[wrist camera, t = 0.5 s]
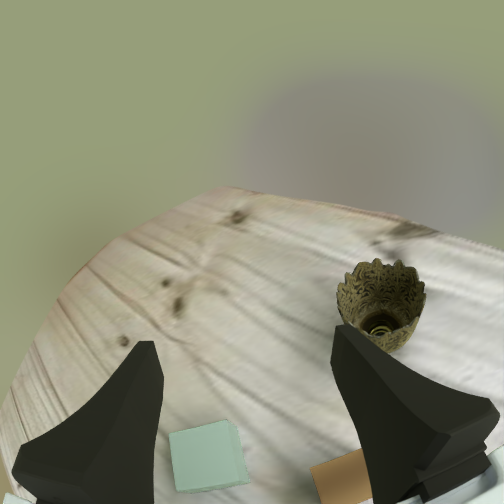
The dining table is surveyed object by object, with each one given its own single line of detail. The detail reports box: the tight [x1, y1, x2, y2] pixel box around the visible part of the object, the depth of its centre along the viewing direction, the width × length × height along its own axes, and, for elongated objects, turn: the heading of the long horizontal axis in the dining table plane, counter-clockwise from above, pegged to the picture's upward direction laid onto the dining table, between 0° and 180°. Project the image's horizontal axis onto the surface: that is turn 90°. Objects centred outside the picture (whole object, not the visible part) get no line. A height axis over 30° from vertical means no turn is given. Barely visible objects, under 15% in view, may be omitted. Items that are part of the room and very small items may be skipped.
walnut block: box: [310, 448, 372, 504], centre depth 18 cm, size 4×4×5 cm
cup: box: [336, 258, 426, 353], centre depth 26 cm, size 8×7×8 cm
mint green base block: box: [169, 420, 250, 493], centre depth 24 cm, size 6×6×3 cm
